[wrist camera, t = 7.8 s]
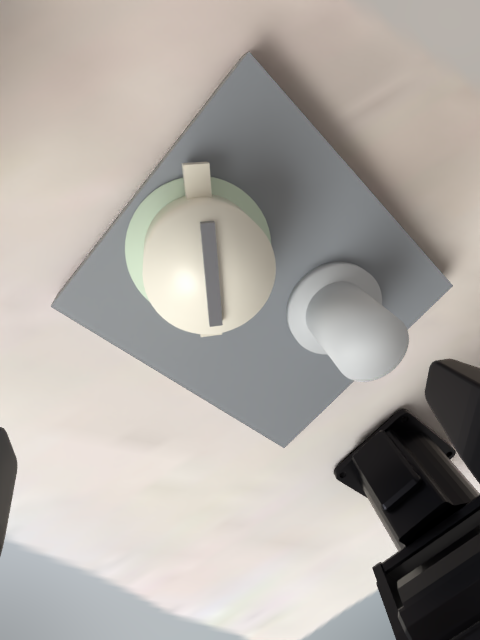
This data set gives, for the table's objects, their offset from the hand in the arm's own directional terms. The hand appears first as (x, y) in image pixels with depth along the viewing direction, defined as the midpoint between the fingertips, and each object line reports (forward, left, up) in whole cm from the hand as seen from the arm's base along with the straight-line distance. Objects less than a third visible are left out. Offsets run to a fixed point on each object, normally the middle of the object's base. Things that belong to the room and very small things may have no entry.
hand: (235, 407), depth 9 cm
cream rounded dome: (0, 0, -11) cm, 11 cm away
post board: (-4, -1, -12) cm, 13 cm away
